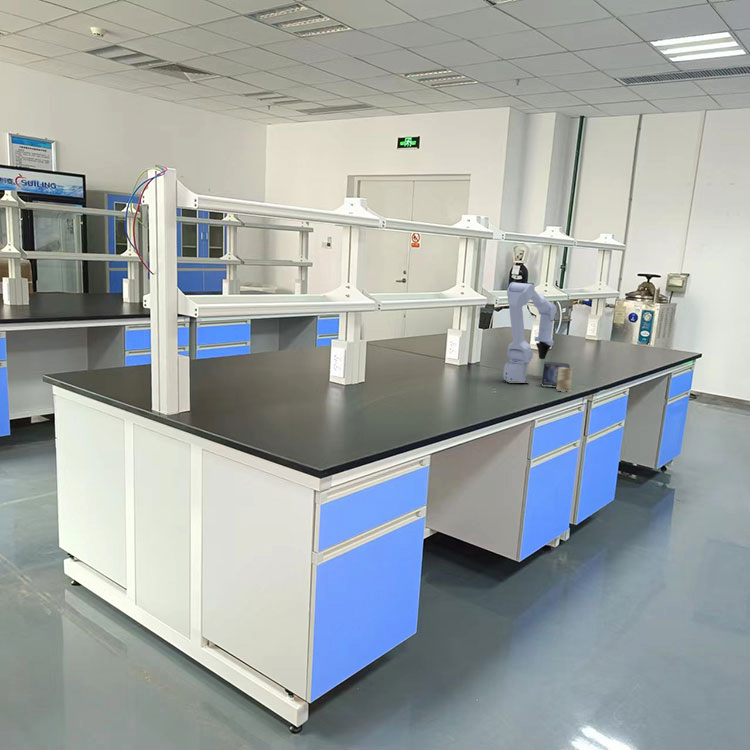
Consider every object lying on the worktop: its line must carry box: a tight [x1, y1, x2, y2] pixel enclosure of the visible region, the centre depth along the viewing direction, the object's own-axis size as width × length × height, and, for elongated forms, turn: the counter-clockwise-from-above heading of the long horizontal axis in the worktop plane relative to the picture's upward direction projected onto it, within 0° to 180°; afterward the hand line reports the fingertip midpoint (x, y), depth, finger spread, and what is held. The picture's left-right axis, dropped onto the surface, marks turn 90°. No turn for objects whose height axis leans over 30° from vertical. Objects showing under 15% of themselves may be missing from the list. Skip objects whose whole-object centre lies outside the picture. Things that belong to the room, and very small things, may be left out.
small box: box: [541, 361, 571, 386], centre depth 283 cm, size 11×6×10 cm, turn 78°
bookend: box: [555, 367, 574, 392], centre depth 274 cm, size 6×3×10 cm, turn 103°
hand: (541, 358), depth 300 cm, fingers closed
